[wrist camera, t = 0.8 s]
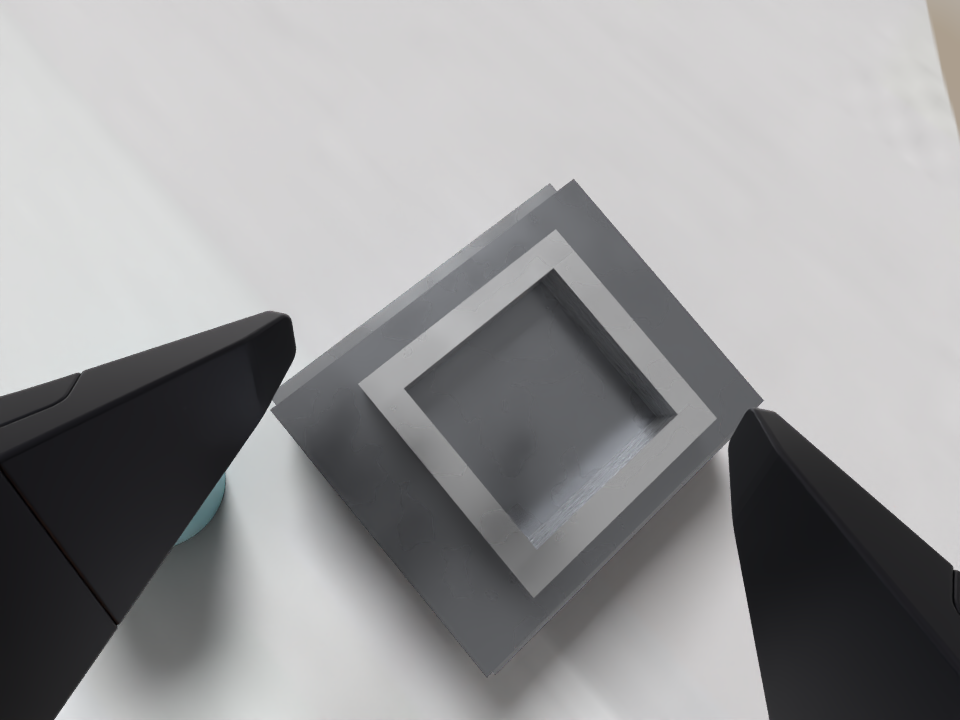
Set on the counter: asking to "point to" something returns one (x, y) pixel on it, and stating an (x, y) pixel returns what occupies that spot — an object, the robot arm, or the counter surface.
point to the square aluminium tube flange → (517, 417)
